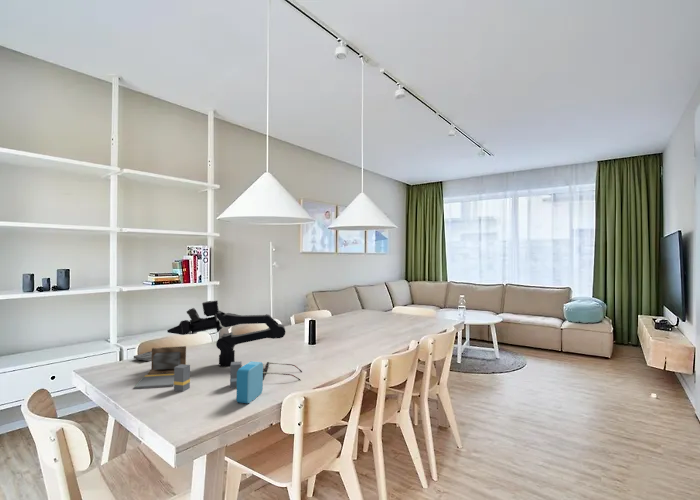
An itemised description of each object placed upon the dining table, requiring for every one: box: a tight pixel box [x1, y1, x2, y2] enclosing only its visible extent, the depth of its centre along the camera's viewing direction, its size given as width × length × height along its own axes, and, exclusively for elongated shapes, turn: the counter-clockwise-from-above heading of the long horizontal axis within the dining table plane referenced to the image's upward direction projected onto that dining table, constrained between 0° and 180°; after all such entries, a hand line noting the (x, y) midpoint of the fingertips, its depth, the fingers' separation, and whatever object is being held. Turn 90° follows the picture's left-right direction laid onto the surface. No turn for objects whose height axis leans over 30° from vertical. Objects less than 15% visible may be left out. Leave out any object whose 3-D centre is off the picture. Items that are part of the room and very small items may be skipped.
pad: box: [133, 373, 174, 390], centre depth 151 cm, size 14×14×1 cm
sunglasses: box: [263, 361, 303, 381], centre depth 159 cm, size 14×16×5 cm
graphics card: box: [133, 350, 152, 362], centre depth 186 cm, size 17×4×12 cm
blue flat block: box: [235, 361, 264, 404], centre depth 135 cm, size 12×4×12 cm, turn 168°
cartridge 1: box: [173, 364, 191, 393], centre depth 143 cm, size 4×4×9 cm
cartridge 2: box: [229, 361, 243, 389], centre depth 147 cm, size 4×4×9 cm
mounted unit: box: [147, 345, 187, 375], centre depth 165 cm, size 14×7×10 cm, turn 103°
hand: (170, 331), depth 170 cm, fingers open, 9 cm apart
